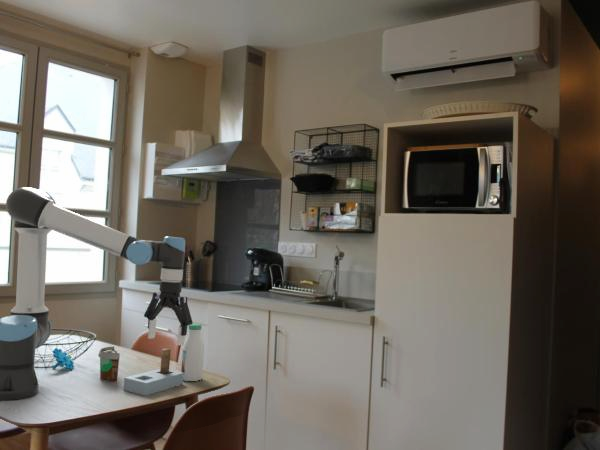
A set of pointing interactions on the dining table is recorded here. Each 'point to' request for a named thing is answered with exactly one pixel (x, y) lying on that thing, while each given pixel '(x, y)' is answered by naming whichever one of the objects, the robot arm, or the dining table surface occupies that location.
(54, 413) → the dining table surface
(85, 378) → the dining table surface
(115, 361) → the food container
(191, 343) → the milk bottle
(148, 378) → the hole block
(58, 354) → the gear
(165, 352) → the peg
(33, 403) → the dining table surface
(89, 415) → the dining table surface
